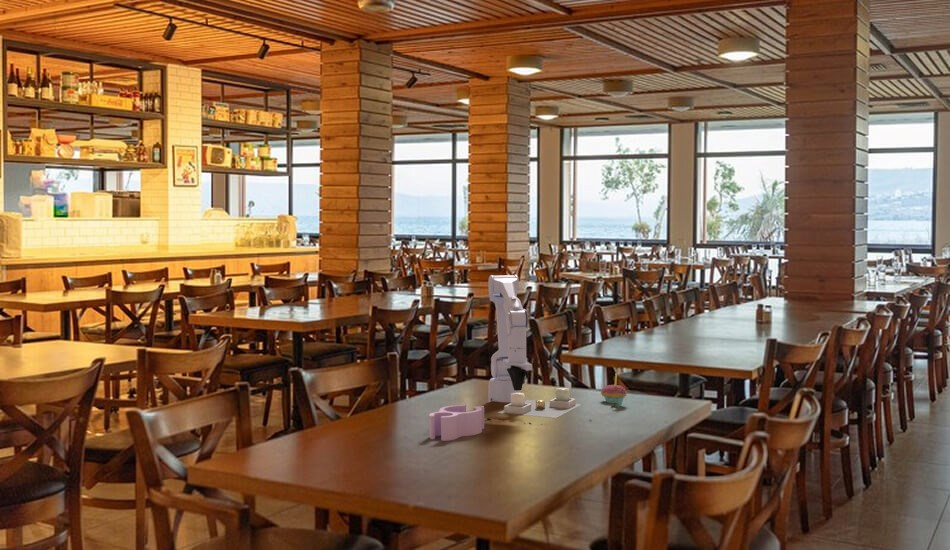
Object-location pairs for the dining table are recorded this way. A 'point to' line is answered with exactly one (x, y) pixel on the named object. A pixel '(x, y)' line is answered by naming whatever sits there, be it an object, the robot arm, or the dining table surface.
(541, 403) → the gold knob
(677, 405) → the dining table surface
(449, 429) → the clip
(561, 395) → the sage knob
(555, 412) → the panel
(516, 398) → the ivory knob
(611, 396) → the cupcake
